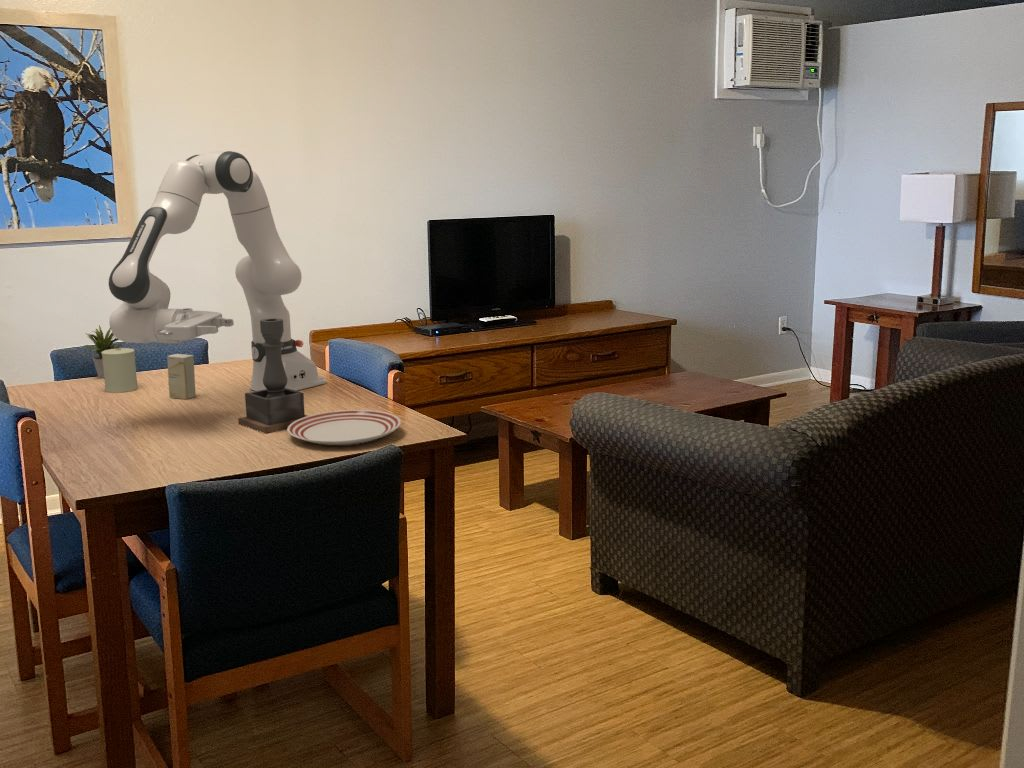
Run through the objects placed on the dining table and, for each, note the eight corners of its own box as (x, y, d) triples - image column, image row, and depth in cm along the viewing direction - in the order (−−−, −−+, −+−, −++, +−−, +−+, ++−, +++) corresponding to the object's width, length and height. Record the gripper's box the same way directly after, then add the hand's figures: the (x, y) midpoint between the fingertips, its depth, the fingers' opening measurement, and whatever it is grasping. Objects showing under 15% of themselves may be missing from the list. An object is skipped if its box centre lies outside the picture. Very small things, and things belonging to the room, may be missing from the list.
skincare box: (169, 398, 287) (165, 356, 284) (179, 394, 291) (176, 353, 288) (186, 399, 284) (183, 357, 282) (197, 396, 288) (194, 354, 286)
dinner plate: (355, 458, 228) (354, 443, 228) (263, 442, 241) (263, 429, 241) (423, 429, 252) (422, 416, 251) (336, 417, 265) (336, 404, 264)
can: (138, 384, 304) (134, 345, 301) (138, 391, 296) (134, 350, 293) (105, 387, 301) (101, 347, 298) (104, 393, 292) (100, 353, 290)
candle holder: (294, 415, 260) (289, 319, 255) (277, 420, 255) (271, 322, 250) (277, 412, 263) (271, 317, 258) (259, 417, 258) (253, 320, 253)
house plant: (120, 382, 308) (115, 329, 304) (75, 382, 308) (69, 329, 304) (137, 372, 322) (133, 321, 318) (94, 372, 322) (89, 322, 318)
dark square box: (286, 414, 267) (284, 384, 265) (313, 422, 258) (311, 392, 256) (238, 423, 258) (236, 393, 256) (265, 433, 249) (263, 401, 247)
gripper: (152, 321, 245) (206, 321, 243) (189, 307, 265) (239, 307, 263) (155, 346, 247) (208, 346, 245) (192, 330, 267) (241, 330, 265)
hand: (224, 326), depth 254 cm, fingers open, 8 cm apart
